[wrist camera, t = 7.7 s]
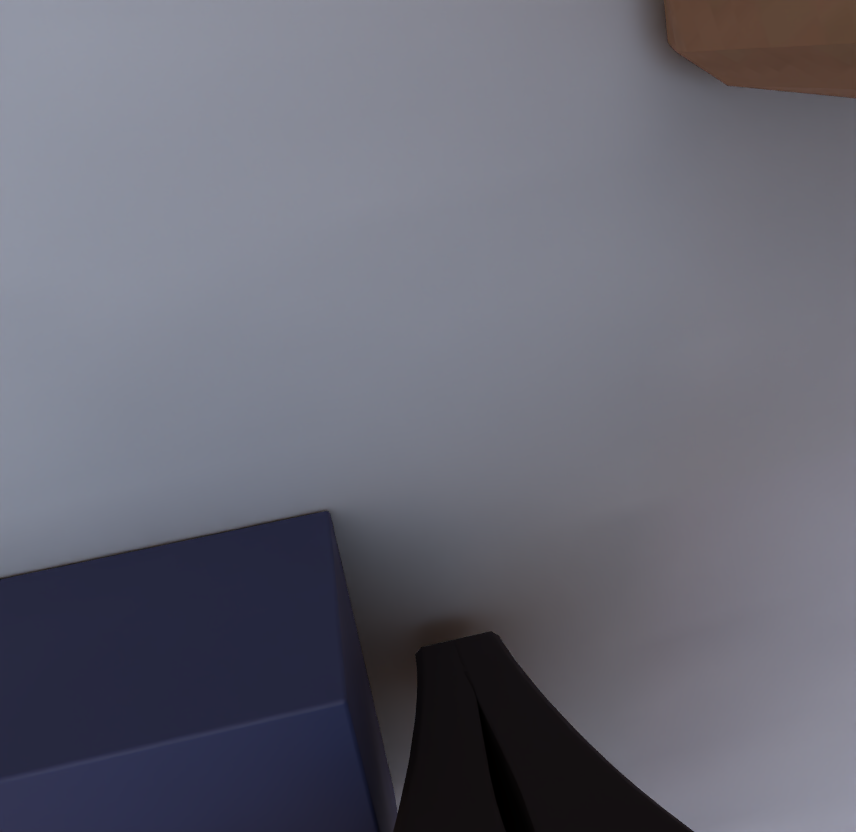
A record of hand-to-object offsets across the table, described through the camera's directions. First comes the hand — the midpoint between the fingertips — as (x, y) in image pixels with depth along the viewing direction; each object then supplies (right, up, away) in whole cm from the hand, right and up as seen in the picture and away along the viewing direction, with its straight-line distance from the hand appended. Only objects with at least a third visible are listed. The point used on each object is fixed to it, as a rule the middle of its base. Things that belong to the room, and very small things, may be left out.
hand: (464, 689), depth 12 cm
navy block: (-5, 0, 0) cm, 5 cm away
